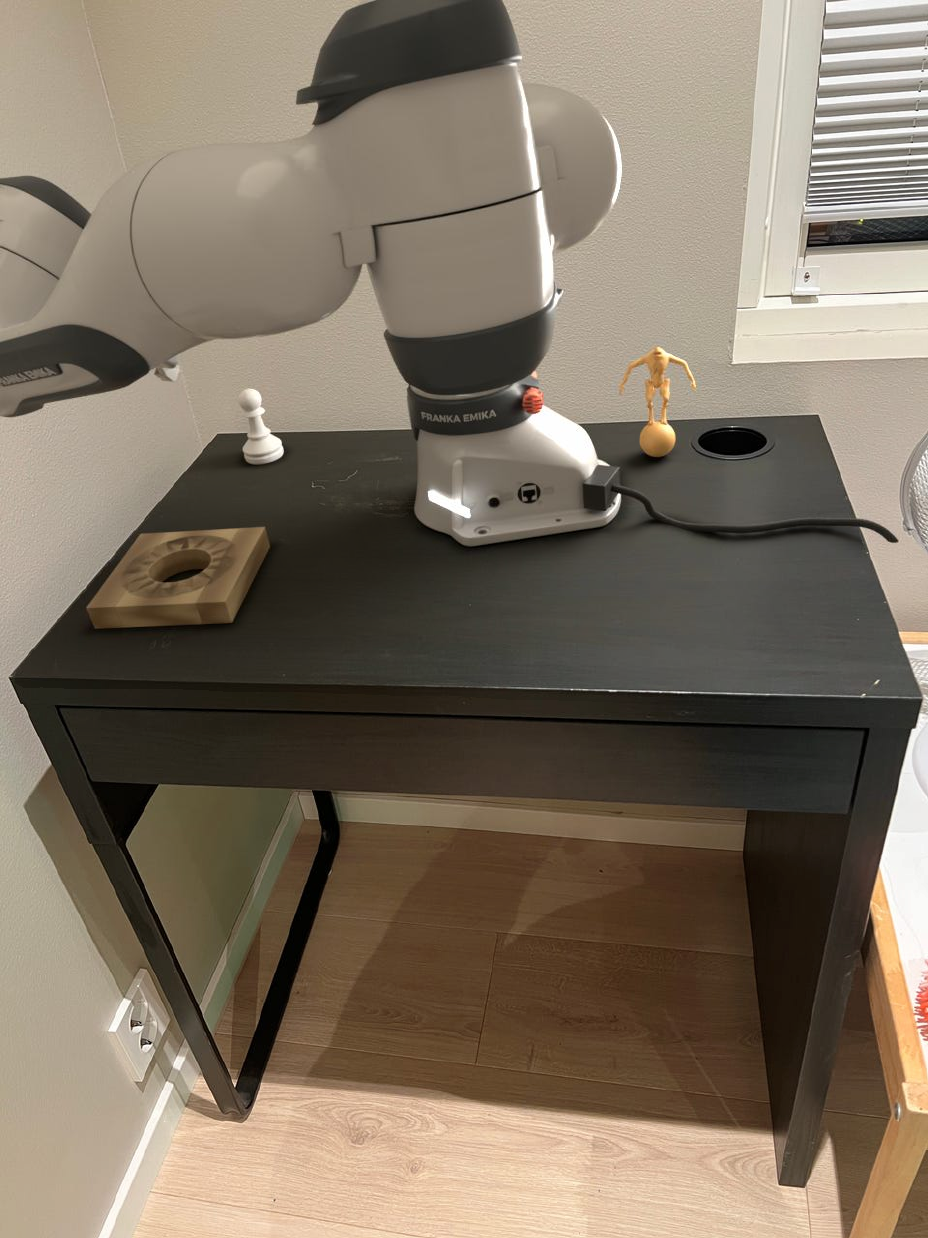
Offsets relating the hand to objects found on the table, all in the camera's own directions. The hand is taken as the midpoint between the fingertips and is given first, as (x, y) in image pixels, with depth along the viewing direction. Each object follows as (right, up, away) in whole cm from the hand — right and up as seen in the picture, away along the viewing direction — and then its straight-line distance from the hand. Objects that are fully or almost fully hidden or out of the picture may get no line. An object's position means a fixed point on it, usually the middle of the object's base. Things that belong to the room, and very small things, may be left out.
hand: (137, 373), depth 98 cm
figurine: (+57, -7, +9) cm, 58 cm away
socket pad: (+6, -23, -3) cm, 24 cm away
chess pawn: (+9, -5, +21) cm, 24 cm away
